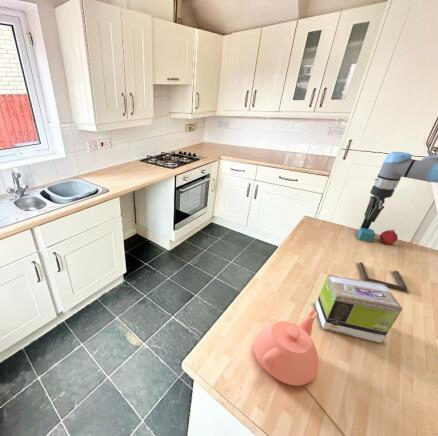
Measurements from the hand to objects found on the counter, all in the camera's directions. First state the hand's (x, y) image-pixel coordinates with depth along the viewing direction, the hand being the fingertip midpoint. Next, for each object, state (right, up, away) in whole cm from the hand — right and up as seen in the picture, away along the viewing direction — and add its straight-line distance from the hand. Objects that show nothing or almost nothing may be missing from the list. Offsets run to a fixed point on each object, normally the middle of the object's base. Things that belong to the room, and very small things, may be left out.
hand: (362, 231), depth 121 cm
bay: (-17, -17, -26) cm, 36 cm away
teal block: (-3, -4, -3) cm, 6 cm away
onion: (+4, -6, -6) cm, 10 cm away
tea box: (-45, -27, -44) cm, 69 cm away
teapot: (-70, -33, -53) cm, 94 cm away
